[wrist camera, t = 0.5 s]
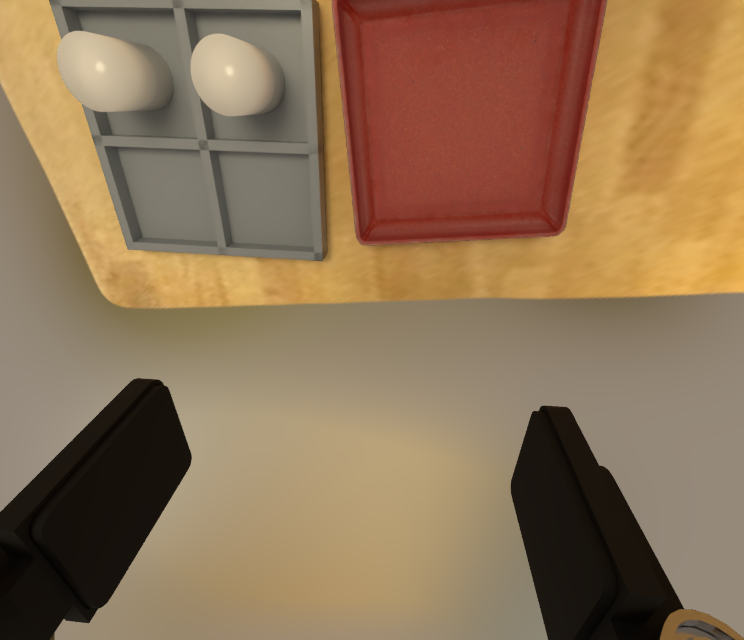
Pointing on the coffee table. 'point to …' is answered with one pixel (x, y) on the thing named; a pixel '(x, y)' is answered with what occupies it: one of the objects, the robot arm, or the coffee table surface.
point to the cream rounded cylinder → (236, 76)
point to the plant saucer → (464, 114)
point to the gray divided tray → (214, 133)
